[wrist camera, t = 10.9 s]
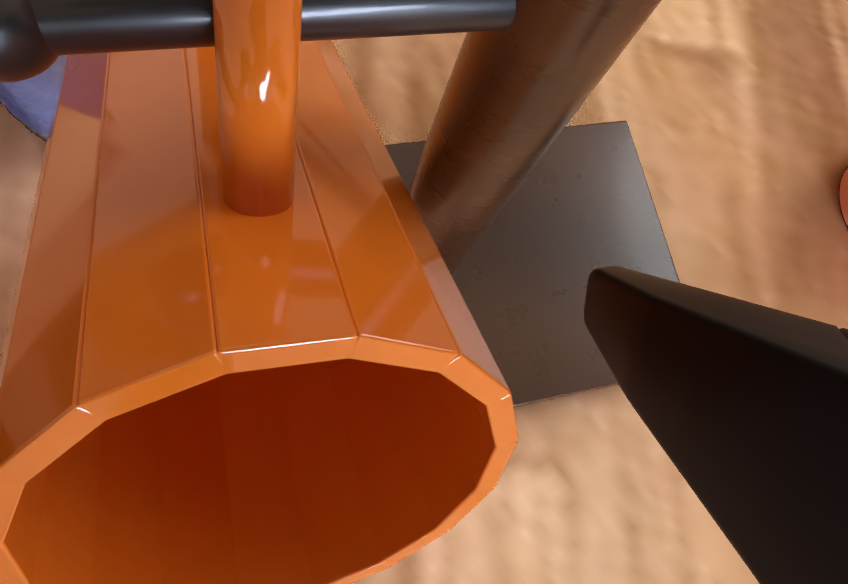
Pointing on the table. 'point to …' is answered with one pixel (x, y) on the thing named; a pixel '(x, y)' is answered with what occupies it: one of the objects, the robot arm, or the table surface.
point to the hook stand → (462, 152)
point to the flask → (34, 98)
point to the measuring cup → (233, 330)
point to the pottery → (844, 195)
